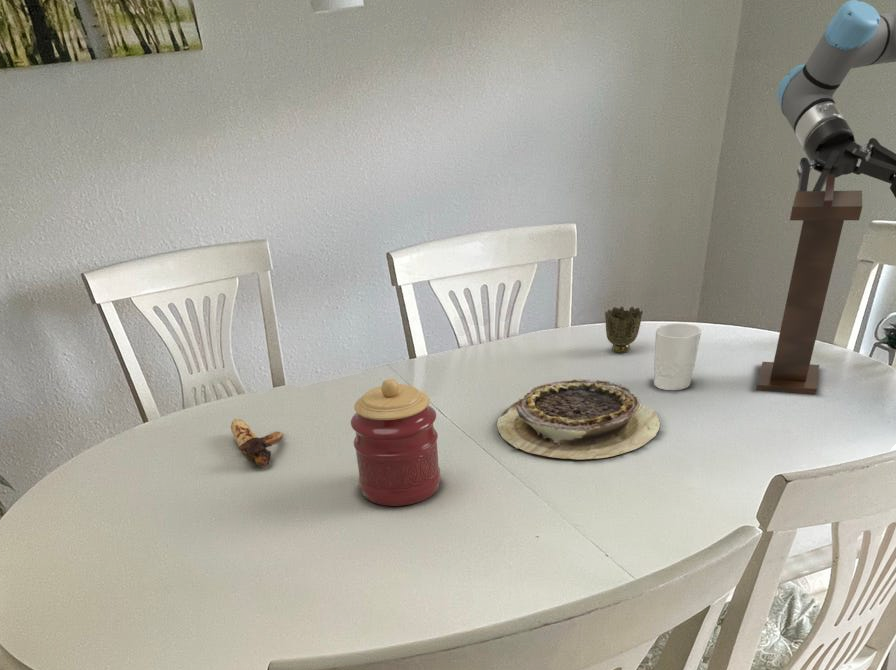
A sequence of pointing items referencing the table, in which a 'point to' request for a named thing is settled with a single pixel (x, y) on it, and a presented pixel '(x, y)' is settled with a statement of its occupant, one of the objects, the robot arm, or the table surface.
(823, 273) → the stand
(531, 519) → the table surface
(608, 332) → the cup
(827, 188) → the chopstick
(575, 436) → the pie
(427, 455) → the kitchen canister
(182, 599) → the table surface
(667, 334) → the white cup
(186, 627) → the table surface
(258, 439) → the lashed bone hook
